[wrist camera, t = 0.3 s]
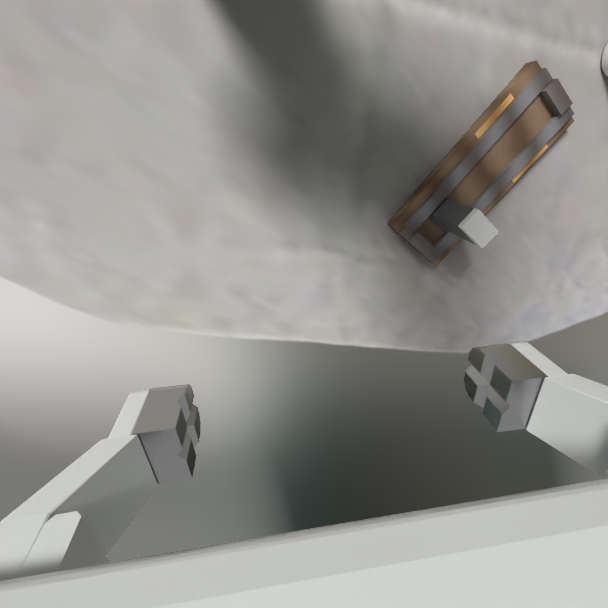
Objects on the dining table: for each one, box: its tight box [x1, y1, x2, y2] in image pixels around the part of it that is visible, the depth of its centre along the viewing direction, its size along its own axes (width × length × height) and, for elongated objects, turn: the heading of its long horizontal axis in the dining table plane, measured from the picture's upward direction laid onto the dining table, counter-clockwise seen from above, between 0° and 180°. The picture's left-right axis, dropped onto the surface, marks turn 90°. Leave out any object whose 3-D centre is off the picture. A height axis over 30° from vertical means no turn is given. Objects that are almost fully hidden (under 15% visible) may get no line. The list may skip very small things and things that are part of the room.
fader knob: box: [429, 198, 499, 249], centre depth 53 cm, size 4×5×10 cm
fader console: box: [388, 61, 574, 266], centre depth 55 cm, size 30×12×4 cm, turn 141°
